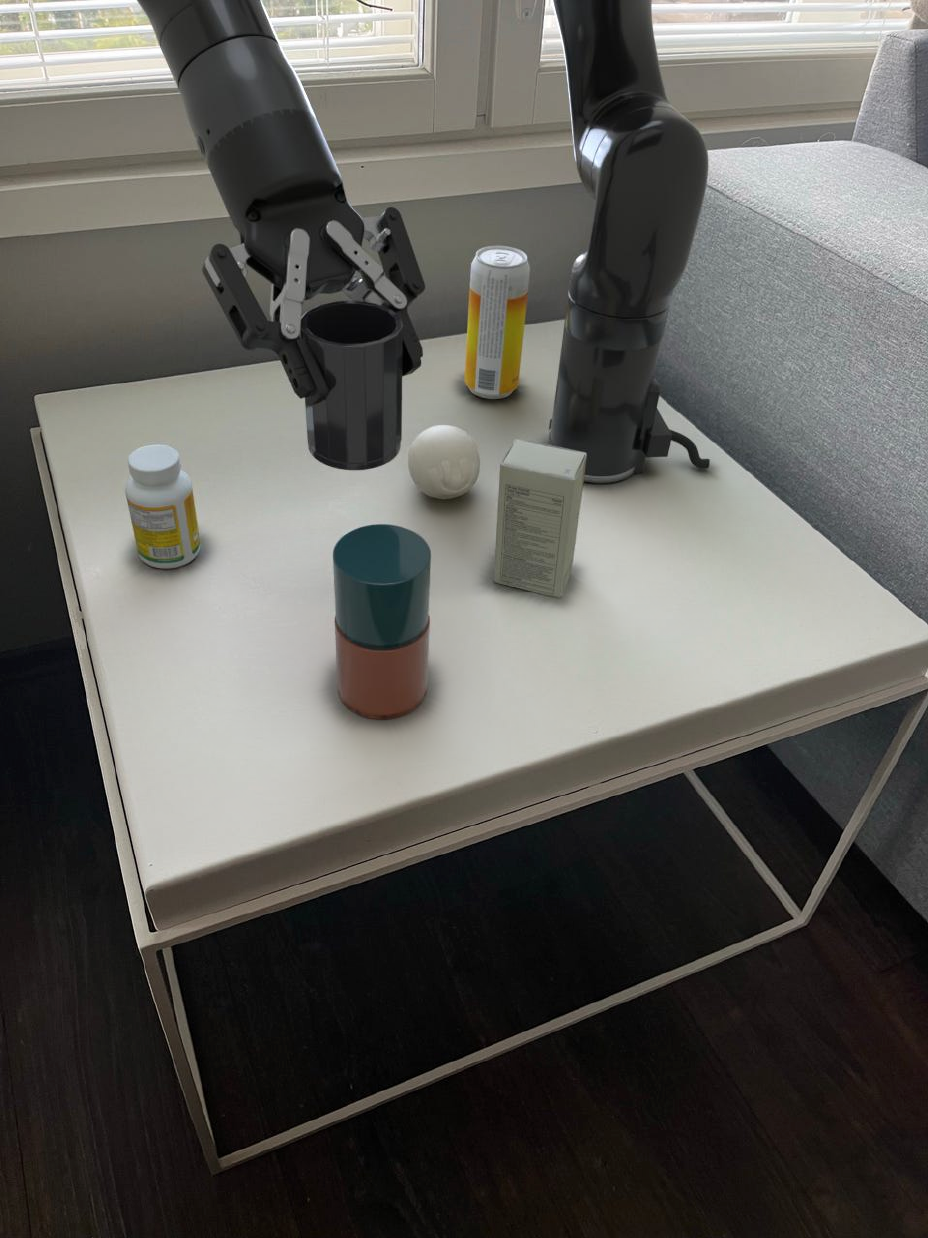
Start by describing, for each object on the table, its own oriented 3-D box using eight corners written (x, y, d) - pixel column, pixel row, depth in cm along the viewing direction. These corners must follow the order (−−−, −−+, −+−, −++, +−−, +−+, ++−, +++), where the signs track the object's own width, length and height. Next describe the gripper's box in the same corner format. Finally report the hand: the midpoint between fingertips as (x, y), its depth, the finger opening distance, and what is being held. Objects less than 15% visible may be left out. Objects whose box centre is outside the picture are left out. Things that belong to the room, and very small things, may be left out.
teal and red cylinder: (421, 652, 77) (426, 520, 68) (432, 716, 72) (438, 582, 63) (335, 658, 76) (329, 524, 67) (340, 723, 71) (333, 588, 62)
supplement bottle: (164, 578, 82) (145, 484, 76) (125, 551, 84) (104, 457, 78) (214, 550, 85) (200, 457, 79) (176, 524, 88) (159, 432, 81)
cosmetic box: (572, 570, 86) (592, 452, 78) (560, 600, 83) (579, 480, 74) (503, 552, 87) (515, 434, 79) (488, 581, 84) (499, 462, 76)
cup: (396, 419, 70) (397, 299, 64) (405, 469, 65) (406, 345, 59) (307, 421, 69) (299, 300, 63) (309, 472, 65) (300, 347, 59)
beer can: (519, 377, 111) (532, 246, 101) (516, 403, 107) (529, 270, 97) (466, 372, 112) (474, 241, 101) (461, 398, 107) (469, 264, 97)
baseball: (421, 520, 90) (423, 459, 86) (399, 477, 95) (400, 417, 91) (489, 509, 92) (494, 449, 87) (464, 467, 97) (468, 408, 92)
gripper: (166, 121, 55) (288, 396, 56) (378, 90, 62) (482, 336, 63) (142, 189, 61) (251, 435, 63) (336, 154, 68) (431, 376, 70)
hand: (367, 384), depth 63 cm, fingers closed on cup, 6 cm apart
